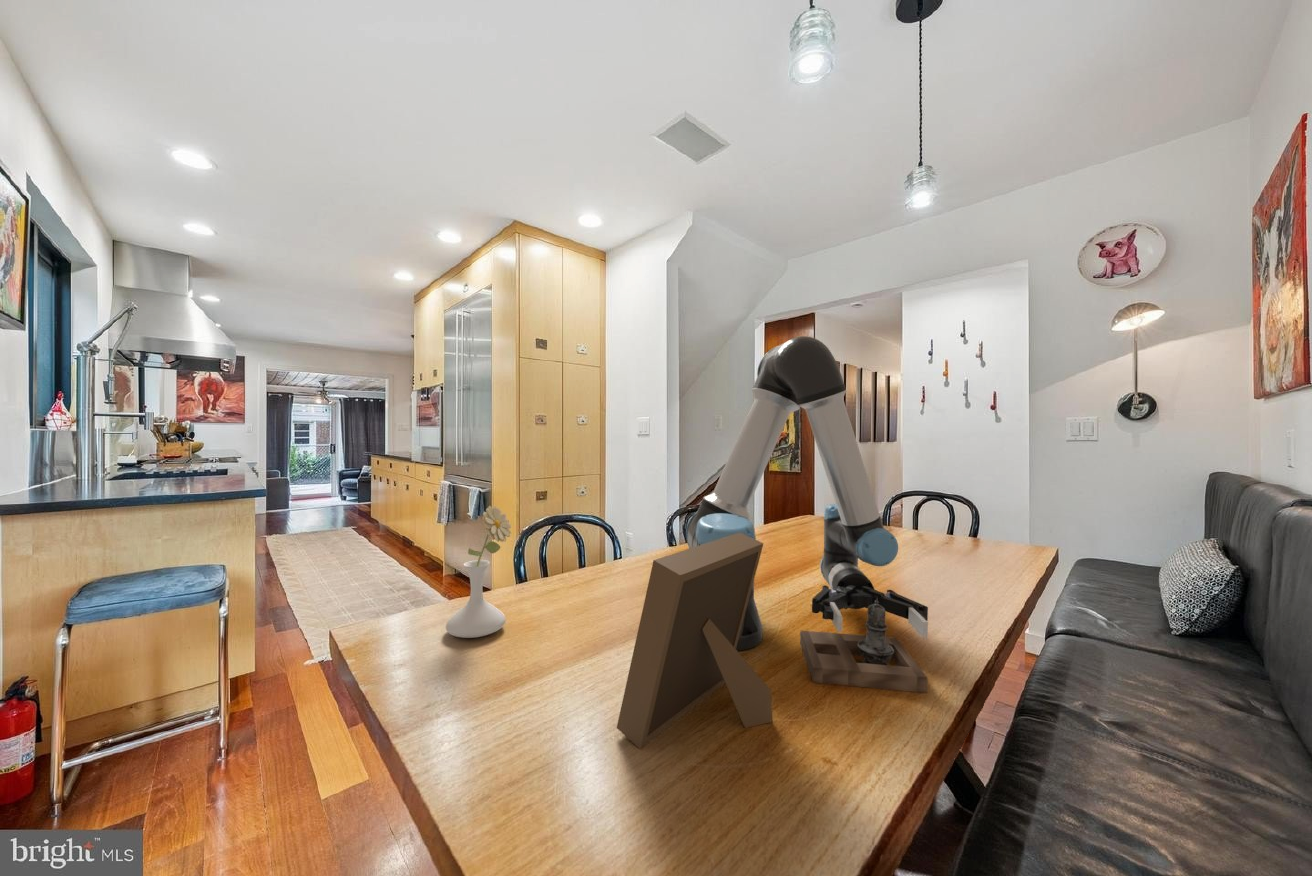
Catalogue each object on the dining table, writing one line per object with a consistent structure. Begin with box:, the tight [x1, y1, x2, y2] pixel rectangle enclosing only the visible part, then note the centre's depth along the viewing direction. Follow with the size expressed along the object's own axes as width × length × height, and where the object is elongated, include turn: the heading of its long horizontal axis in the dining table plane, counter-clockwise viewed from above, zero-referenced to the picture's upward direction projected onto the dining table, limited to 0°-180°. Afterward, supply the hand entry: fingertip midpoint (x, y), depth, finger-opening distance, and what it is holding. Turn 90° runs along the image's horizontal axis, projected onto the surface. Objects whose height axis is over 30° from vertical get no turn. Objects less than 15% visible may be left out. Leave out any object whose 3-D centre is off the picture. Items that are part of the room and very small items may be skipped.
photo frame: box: [616, 533, 774, 750], centre depth 68 cm, size 15×22×25 cm
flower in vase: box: [445, 505, 512, 639], centre depth 97 cm, size 13×11×25 cm
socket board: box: [799, 630, 928, 694], centre depth 85 cm, size 18×14×2 cm
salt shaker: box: [858, 600, 894, 665], centre depth 84 cm, size 6×6×12 cm
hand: (882, 627), depth 81 cm, fingers open, 13 cm apart
